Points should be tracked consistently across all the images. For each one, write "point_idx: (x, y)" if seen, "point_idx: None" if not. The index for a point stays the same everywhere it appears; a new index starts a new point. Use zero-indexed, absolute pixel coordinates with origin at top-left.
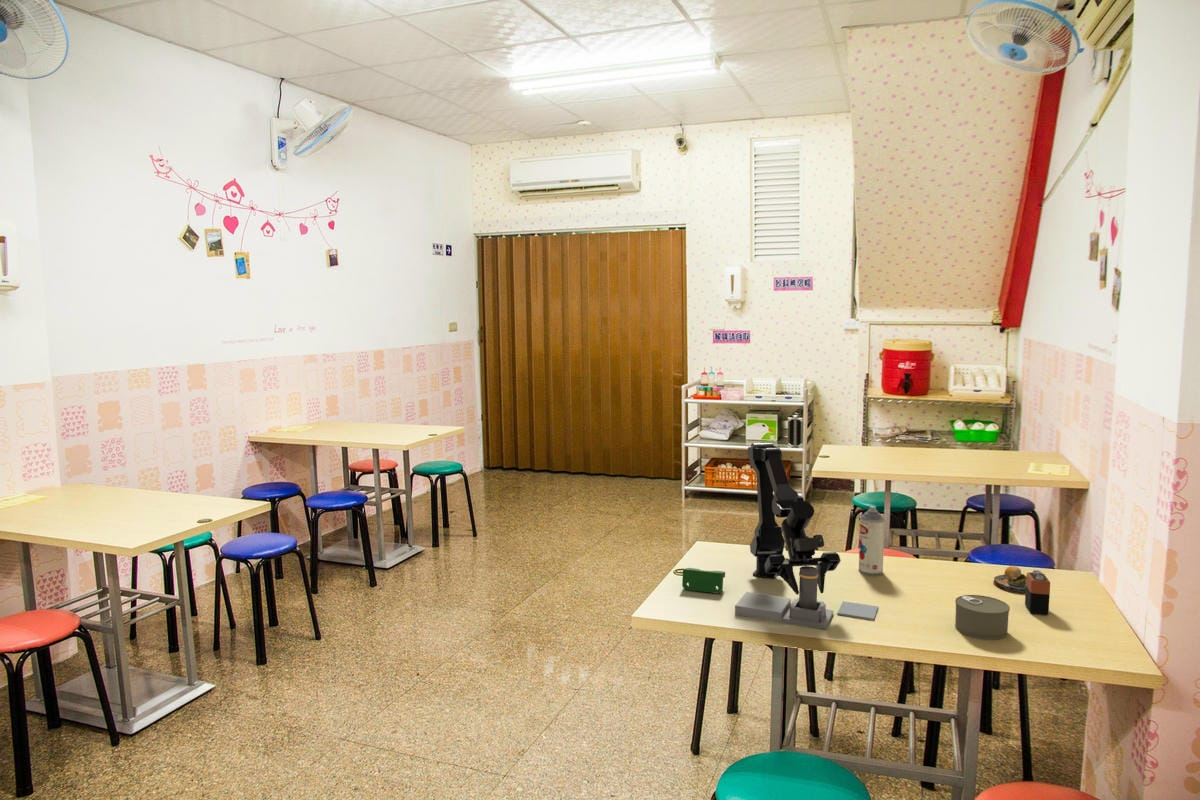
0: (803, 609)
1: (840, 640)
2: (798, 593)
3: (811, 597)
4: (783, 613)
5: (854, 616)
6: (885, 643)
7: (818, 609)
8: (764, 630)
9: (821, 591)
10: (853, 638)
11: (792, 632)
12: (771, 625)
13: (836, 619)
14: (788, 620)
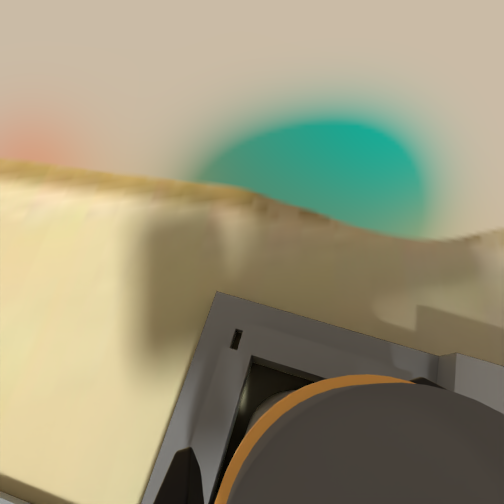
0: (333, 360)
1: (178, 200)
2: (410, 380)
3: (290, 392)
4: None
5: (16, 500)
6: (13, 197)
7: (239, 374)
8: (486, 253)
9: (195, 463)
10: (121, 224)
11: (365, 248)
12: (467, 313)
13: (135, 447)
14: (397, 346)
